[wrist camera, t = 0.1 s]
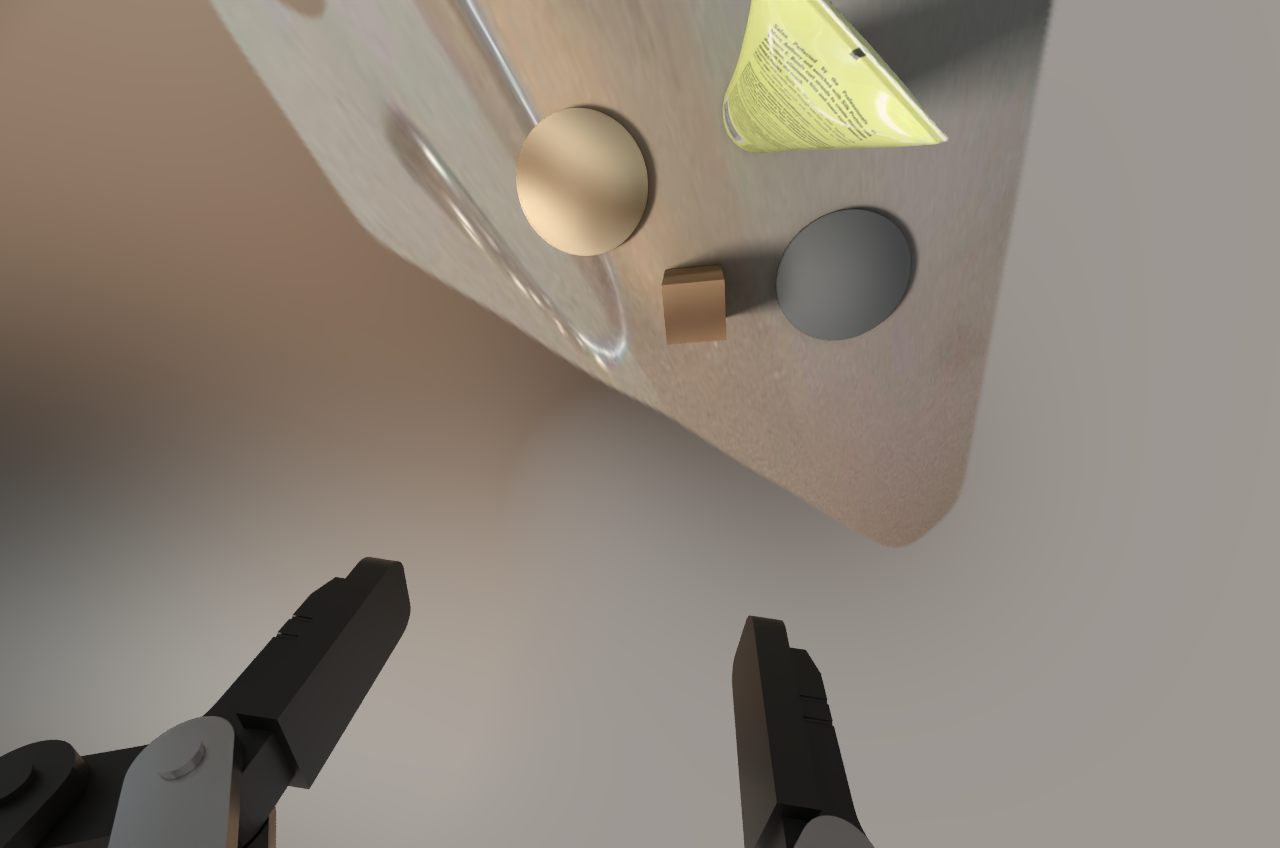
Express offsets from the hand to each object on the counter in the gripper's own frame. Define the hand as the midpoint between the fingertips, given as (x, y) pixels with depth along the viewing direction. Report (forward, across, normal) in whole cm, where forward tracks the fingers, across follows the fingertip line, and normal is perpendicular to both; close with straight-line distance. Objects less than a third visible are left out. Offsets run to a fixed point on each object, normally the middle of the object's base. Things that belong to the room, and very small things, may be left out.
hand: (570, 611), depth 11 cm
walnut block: (+29, -3, 0) cm, 29 cm away
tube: (+29, -5, -12) cm, 32 cm away
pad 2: (+29, -13, -3) cm, 32 cm away
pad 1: (+29, +6, -7) cm, 30 cm away
